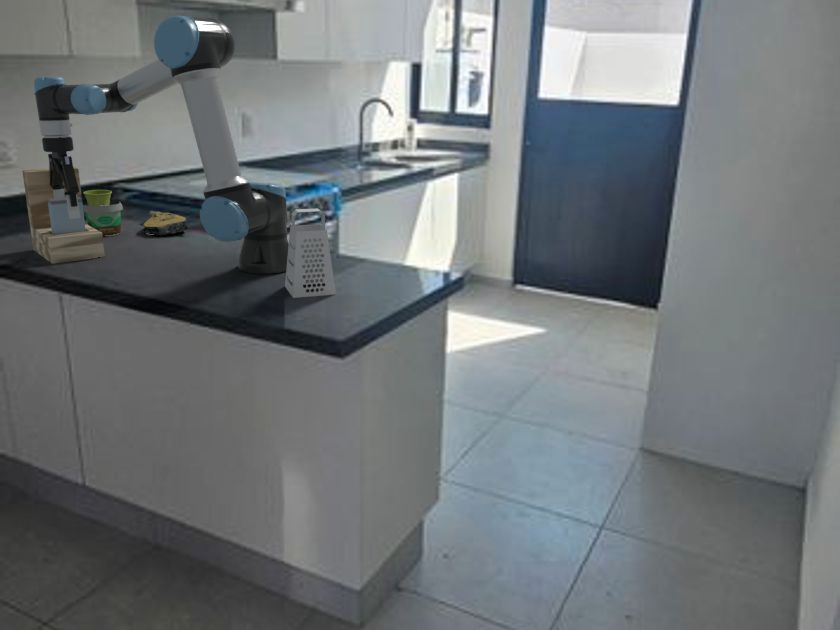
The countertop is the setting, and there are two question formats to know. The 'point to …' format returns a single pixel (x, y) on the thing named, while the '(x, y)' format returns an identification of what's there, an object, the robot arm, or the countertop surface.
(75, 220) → the pale blue plaque
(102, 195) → the plant pot
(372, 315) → the countertop surface
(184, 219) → the yellow piece
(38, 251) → the slotted wooden holder
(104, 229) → the food container
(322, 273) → the grater
